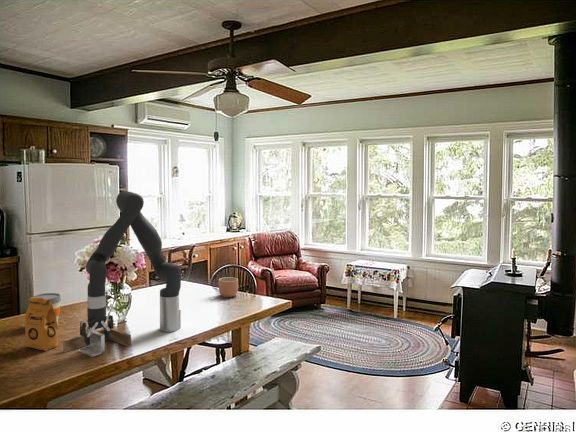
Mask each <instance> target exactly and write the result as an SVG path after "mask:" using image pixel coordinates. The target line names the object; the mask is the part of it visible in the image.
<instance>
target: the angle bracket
mask: <svg viewBox="0 0 576 432" xmlns="http://www.w3.org/2000/svg"><path fill="white" fill-rule="evenodd" d="M96 331H97V330H94V331H93V332H92V333H91V334H90V336H89V337H90V345H87V346H84V347H81V348H78V352H80V353H82V354H84V355H86V356H88V357H91V358H93V357H96V356H99V355H102V354H105V353H106V350H105V348H106V343H105V341H106V340H105V335H104V334H101V333H99V332H96Z"/></svg>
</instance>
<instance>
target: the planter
mask: <svg viewBox="0 0 576 432" xmlns="http://www.w3.org/2000/svg"><path fill="white" fill-rule="evenodd" d="M238 291H239V279H238V278H237V277H233V276H232V277H231V276H229V277H227V276H226V277H225V276H224V277H221V278H219V279H218V293H219V295H220V296H221V297H223V298H234V297H235V296H236V295H237V294H238Z"/></svg>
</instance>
